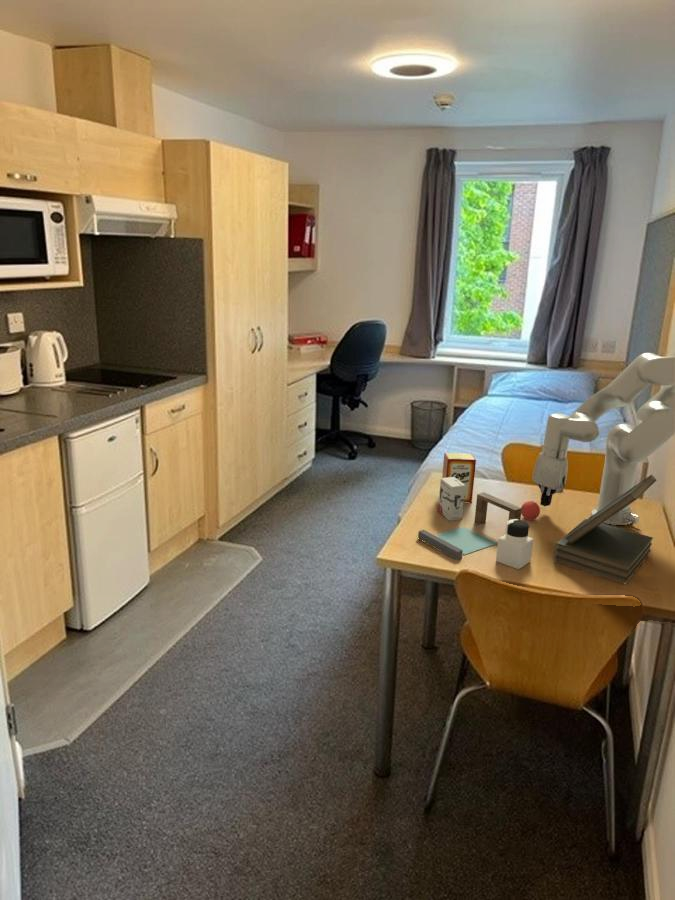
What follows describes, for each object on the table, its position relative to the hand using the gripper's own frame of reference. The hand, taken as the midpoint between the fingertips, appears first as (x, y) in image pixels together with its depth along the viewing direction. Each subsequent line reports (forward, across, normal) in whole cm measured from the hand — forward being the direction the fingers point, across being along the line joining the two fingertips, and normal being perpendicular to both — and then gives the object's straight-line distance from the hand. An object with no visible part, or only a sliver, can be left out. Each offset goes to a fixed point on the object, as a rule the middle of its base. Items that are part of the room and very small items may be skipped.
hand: (545, 504), depth 214 cm
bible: (+3, +30, -13) cm, 33 cm away
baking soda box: (+4, -24, -16) cm, 30 cm away
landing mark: (+4, +1, -38) cm, 38 cm away
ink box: (+4, -15, -28) cm, 32 cm away
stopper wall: (+4, +1, -48) cm, 48 cm away
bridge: (+4, +1, -24) cm, 24 cm away
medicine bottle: (+4, +18, -36) cm, 40 cm away
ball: (0, +1, -8) cm, 8 cm away
